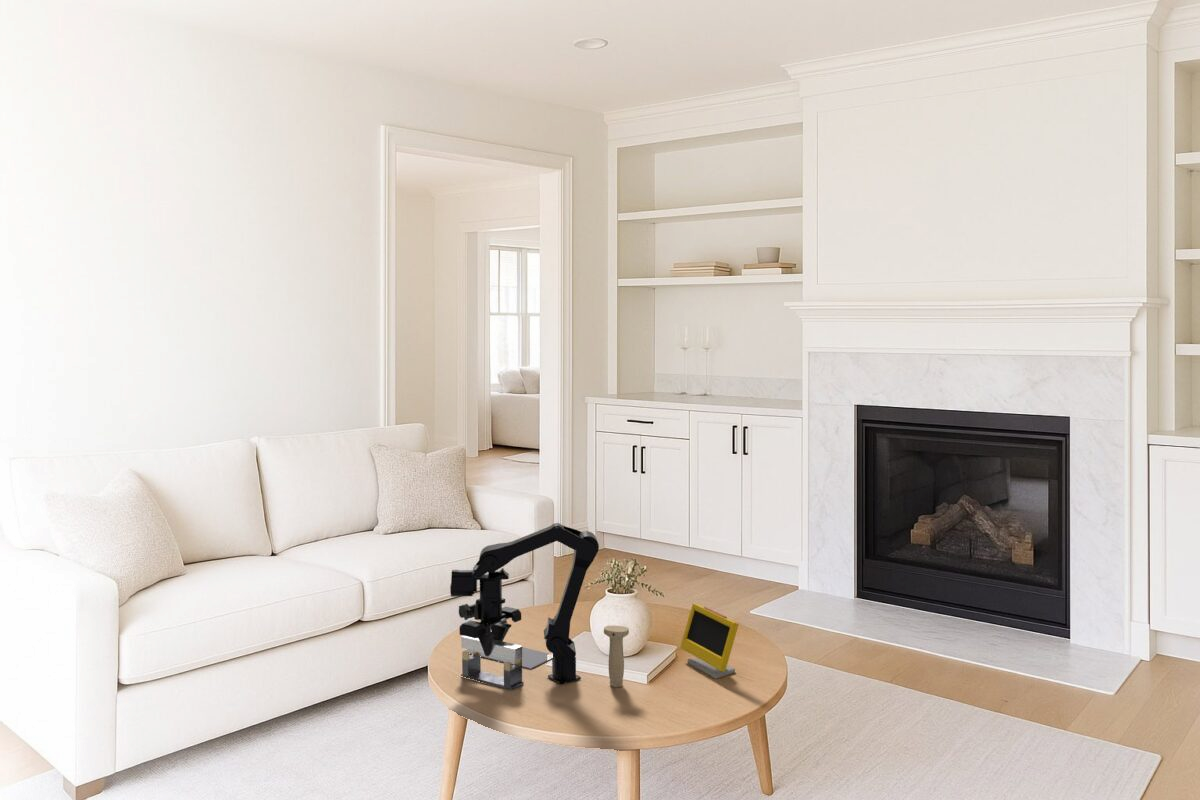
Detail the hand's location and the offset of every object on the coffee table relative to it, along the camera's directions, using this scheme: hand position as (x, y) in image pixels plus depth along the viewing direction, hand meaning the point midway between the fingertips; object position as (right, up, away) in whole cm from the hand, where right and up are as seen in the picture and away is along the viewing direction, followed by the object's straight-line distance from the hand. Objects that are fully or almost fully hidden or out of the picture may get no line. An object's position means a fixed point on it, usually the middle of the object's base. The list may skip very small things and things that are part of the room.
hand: (491, 654), depth 247 cm
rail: (0, 0, 0) cm, 0 cm away
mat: (+3, -6, +20) cm, 21 cm away
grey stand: (0, -7, +1) cm, 7 cm away
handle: (+32, -8, -3) cm, 34 cm away
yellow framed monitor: (+58, -7, +9) cm, 60 cm away
